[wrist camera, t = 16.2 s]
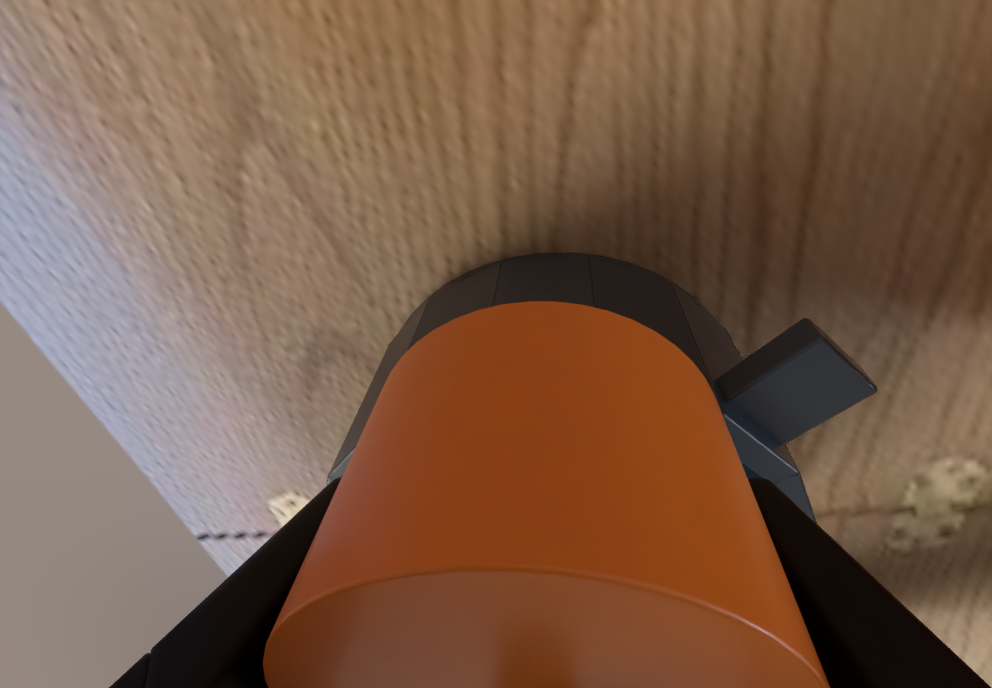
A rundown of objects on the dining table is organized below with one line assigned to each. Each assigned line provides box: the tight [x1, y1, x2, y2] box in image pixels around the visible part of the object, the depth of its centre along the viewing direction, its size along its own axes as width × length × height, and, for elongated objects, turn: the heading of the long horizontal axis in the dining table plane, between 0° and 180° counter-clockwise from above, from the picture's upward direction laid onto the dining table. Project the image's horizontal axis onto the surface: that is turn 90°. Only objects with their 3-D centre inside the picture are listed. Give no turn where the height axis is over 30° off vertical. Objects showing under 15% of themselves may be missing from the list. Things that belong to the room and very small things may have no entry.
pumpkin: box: [263, 301, 830, 688], centre depth 7 cm, size 6×6×5 cm
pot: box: [327, 253, 877, 524], centre depth 20 cm, size 16×21×8 cm
